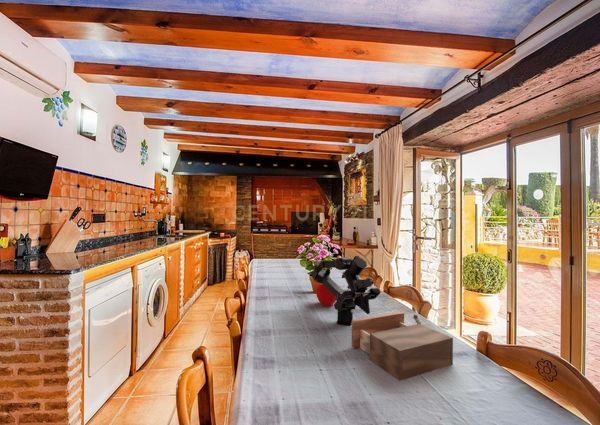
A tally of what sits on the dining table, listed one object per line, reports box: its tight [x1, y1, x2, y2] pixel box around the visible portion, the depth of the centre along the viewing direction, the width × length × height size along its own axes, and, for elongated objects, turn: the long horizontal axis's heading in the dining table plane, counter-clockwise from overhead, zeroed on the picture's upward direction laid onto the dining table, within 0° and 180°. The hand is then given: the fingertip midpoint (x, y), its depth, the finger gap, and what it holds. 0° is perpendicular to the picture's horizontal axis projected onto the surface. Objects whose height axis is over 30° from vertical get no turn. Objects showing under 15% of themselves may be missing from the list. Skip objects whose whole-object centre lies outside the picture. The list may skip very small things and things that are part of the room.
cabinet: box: [369, 323, 454, 381], centre depth 98 cm, size 14×24×9 cm, turn 115°
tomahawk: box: [413, 314, 422, 324], centre depth 134 cm, size 21×7×1 cm, turn 166°
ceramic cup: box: [315, 283, 337, 307], centre depth 161 cm, size 13×17×10 cm
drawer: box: [351, 311, 409, 356], centre depth 107 cm, size 14×25×10 cm, turn 115°
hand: (368, 313), depth 119 cm, fingers closed
